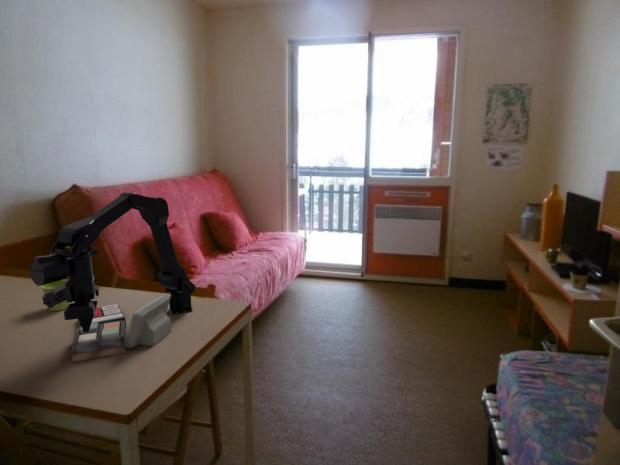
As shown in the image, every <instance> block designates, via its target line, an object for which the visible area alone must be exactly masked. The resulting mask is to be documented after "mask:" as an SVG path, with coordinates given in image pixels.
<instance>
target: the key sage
mask: <svg viewBox="0 0 620 465" xmlns="http://www.w3.org/2000/svg"><path fill="white" fill-rule="evenodd" d="M119 335H120V333H119V327H113V328H106V329H103V330H102V339H106V338H112V337H119Z"/></svg>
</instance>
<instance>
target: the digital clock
mask: <svg viewBox="0 0 620 465" xmlns="http://www.w3.org/2000/svg"><path fill="white" fill-rule="evenodd" d="M169 296H170V295H168V294H162V295H160V296H159V297H157V298H156V299H154V300H152V301H150V302H149V303H147V304H145V305H144V306H142V307H141V308H139V309H138V310H136V311H134V313H133V314H132V317H131V320H130V324H129V328H128V331H127V334H126V341H125V348H127V349H132V348H135V347H136V346H137V345H143V346H144V345H145V346H156V345H157V344H158V343H159V342H160V341H161V340H163V339H164V338H166V337H167V336H168V335H169V334H171V332H172V324H171V318H170V317H169V316H168V315H167V311H168V308H169V301H170V297H169Z"/></svg>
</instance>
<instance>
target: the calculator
mask: <svg viewBox="0 0 620 465" xmlns="http://www.w3.org/2000/svg"><path fill="white" fill-rule="evenodd" d="M122 320H125V327H126V328H127V322H126V320H127V319H126V316H125V315H124V313H123V311H122V309H121V306H120V305H118V303H114V304H109V305H103V306H101V307H99V306H98V307H97V306H96V311H95V314H94V317H93V320H92V323H97V322H98V324H102V323H109V322H116V321H122Z"/></svg>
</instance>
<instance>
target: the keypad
mask: <svg viewBox="0 0 620 465" xmlns="http://www.w3.org/2000/svg"><path fill="white" fill-rule="evenodd" d="M116 322H120V328H119V333H120V335H119V337H112V338H106V339H102V330H103V328H104V324H107V323H102V324H98V327H99V331H98V332H92V333H97V340H93V341H87V342H81V343H78V339H79V336H80V335H84V334H81V333H80V329H81V326H78V327H76V328H77V329H76V331H75V335H74V338H73V340H72V344H71V350H72V357H71V358H72V362H78V361H85V360H90V359H96V358H102V357H108V356H113V355H121V354H125V353H126V343H125V342H126V338H127V332H126V331H127V330H126V329H127V326H126V327H125V320H122V321H116ZM109 323H114V322H109ZM86 334H91V333H86Z"/></svg>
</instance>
